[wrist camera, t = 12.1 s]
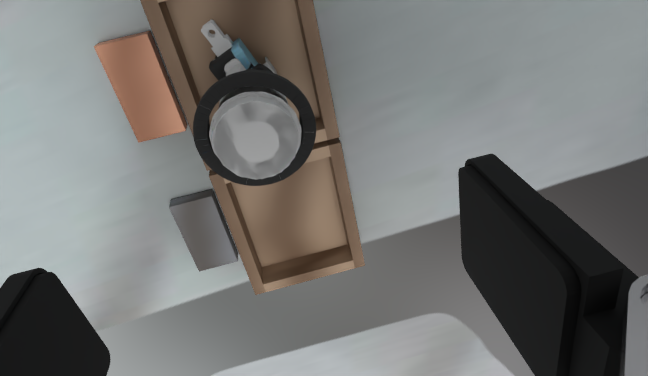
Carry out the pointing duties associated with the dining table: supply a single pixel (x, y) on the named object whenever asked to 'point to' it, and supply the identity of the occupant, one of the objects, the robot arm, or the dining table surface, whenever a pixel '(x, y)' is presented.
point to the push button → (251, 117)
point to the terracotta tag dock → (196, 54)
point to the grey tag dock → (277, 223)
